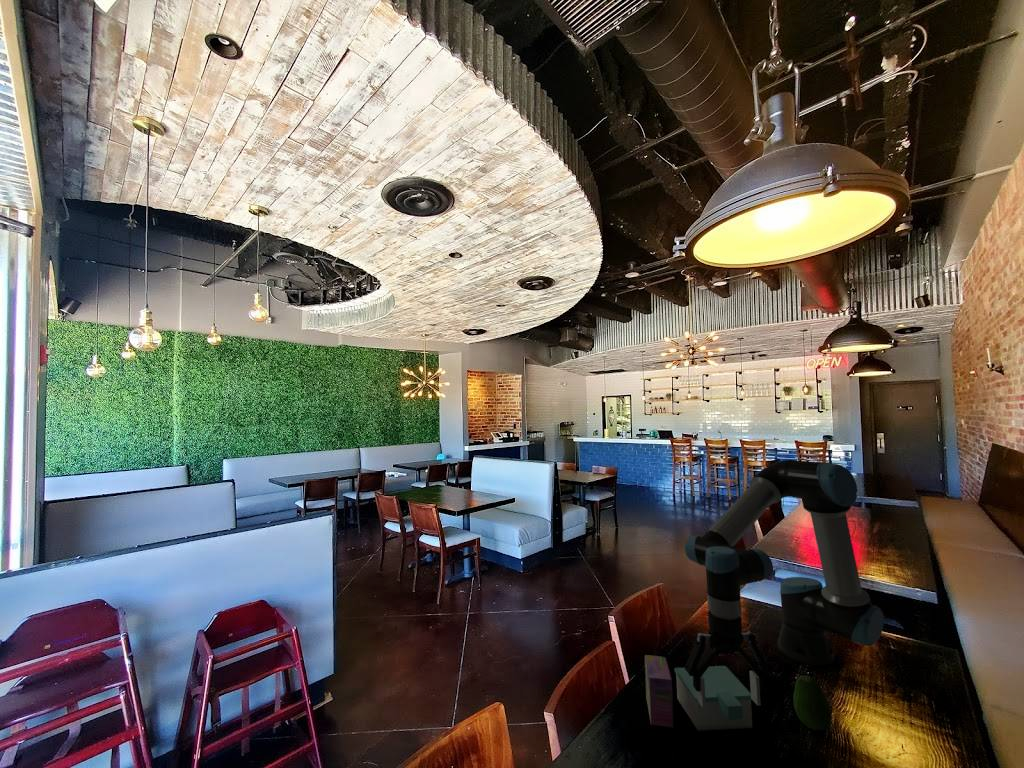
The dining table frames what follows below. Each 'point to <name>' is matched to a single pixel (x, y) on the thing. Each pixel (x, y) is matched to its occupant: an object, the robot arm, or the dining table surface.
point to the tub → (711, 712)
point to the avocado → (811, 704)
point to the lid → (719, 689)
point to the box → (659, 691)
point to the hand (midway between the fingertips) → (728, 703)
